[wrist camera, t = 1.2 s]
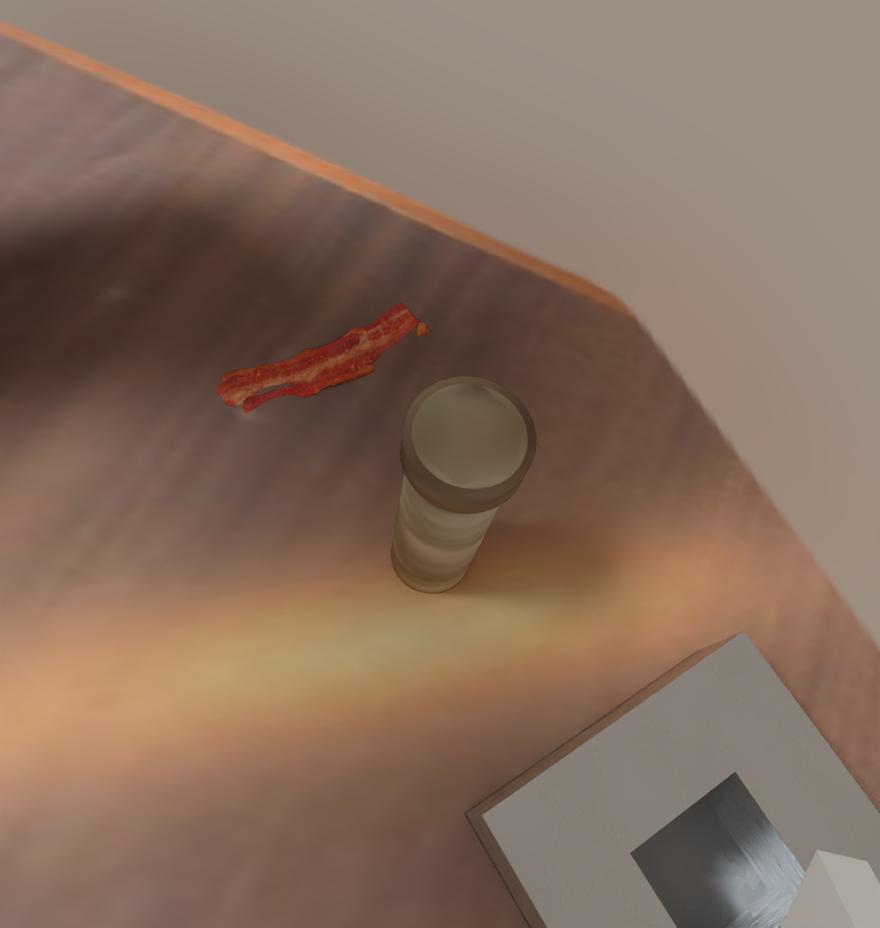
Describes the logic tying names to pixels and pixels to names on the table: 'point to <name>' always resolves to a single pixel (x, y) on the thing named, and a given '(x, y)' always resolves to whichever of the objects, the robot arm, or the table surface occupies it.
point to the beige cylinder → (456, 476)
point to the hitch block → (679, 806)
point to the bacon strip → (320, 363)
